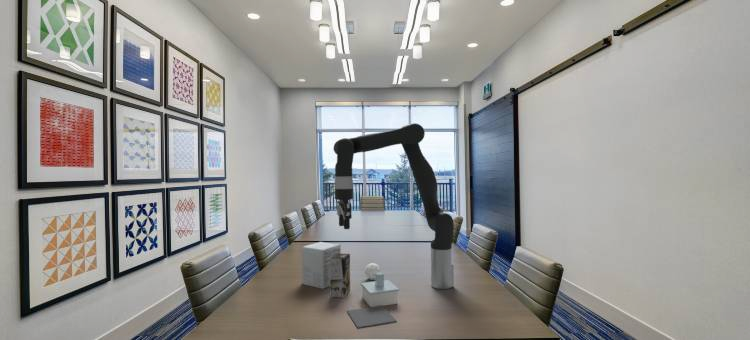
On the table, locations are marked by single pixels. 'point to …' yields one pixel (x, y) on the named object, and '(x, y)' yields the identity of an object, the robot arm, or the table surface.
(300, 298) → the table surface
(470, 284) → the table surface
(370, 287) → the lid
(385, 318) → the mat
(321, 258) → the supplement box
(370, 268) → the geometric ball
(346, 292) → the coffee box
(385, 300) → the dish
